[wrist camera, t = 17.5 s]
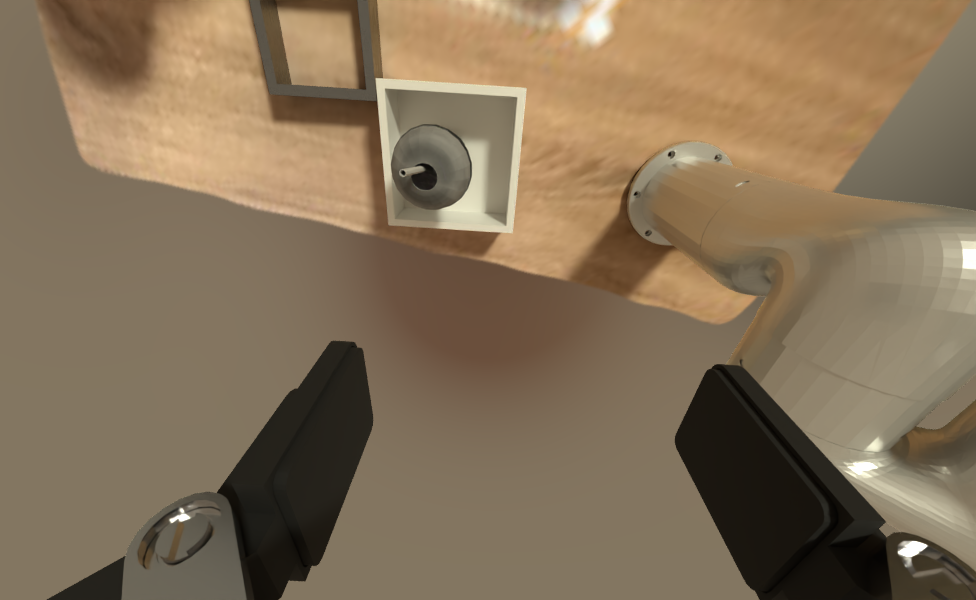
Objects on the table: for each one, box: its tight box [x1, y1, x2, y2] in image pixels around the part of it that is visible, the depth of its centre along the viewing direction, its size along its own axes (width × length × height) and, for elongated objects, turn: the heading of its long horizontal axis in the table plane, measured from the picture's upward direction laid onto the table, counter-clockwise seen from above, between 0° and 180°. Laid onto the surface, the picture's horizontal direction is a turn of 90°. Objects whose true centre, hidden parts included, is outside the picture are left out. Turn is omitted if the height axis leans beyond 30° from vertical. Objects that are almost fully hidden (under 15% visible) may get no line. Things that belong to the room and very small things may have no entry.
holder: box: [249, 0, 383, 101], centre depth 36 cm, size 11×11×3 cm
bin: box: [376, 78, 527, 233], centre depth 40 cm, size 15×15×6 cm
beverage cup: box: [391, 124, 472, 210], centre depth 33 cm, size 7×7×20 cm
